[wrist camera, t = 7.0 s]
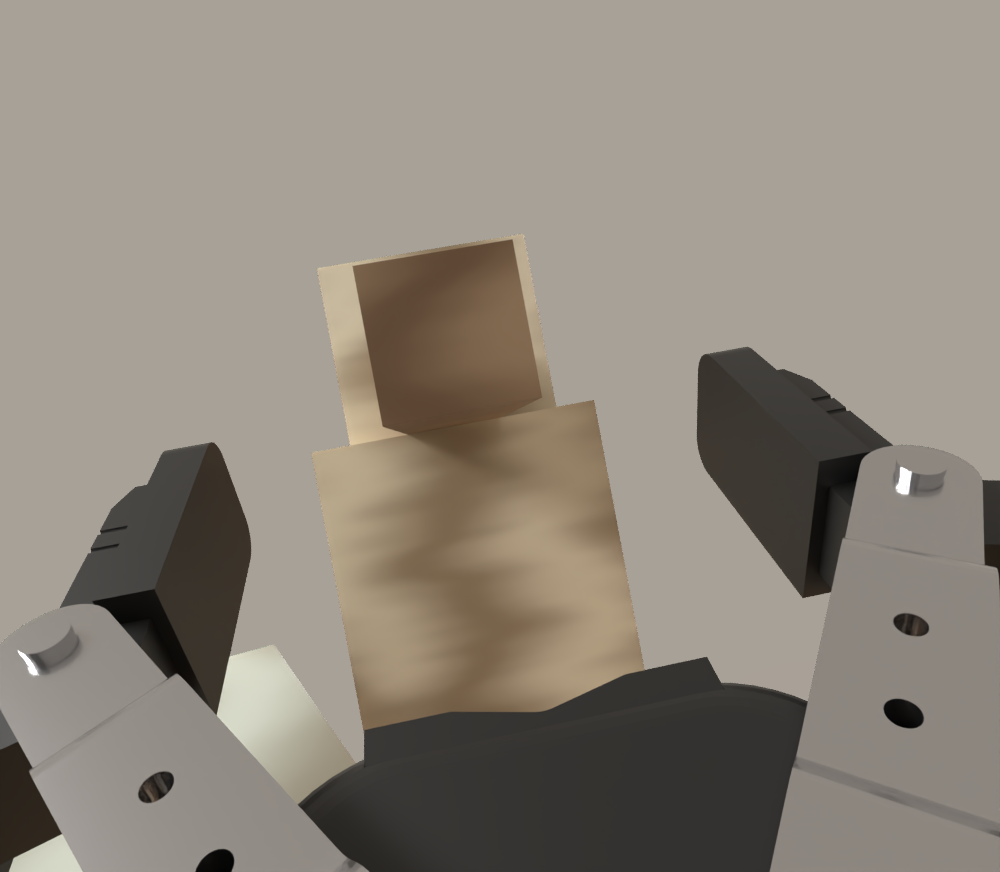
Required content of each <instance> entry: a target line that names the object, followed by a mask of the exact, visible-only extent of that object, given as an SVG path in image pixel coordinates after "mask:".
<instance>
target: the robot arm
mask: <svg viewBox="0 0 1000 872" xmlns="http://www.w3.org/2000/svg"><path fill="white" fill-rule="evenodd" d="M697 408H698V409H697V442H698V449H699V454H700V457H701V460H702V463H703V465H704V467H705V469H706V471H707V472H708V474H709V475H710V476H711V478H712V479H713V480H714V482H715V483H716V484H717V486H718V487H719V488H720V490H721V491H722V492H723V494H724V495H725V496H726V497H727V499H728V500H729V501H730V503H731V504H732V505H733V507H734V508H735V509H736V511H737V512H738V513H739V515H740V516H741V517H742V519H743V520H744V521H745V523H746V524H747V525H748V526H749V528H750V529H751V530H752V532H753V533H754V534H755V536H756V537H757V538H758V540H759V541H760V542H761V544H762V545H763V546H764V548H765V549H766V550H767V551H768V553H769V554H770V555H771V556H772V558H773V559H774V561H775V562H776V563H777V564H778V566H779V567H780V569H782V571H783V573H784V574H785V575H786V577H787V578H788V579H789V580H790V582H791V583H792V584H793V586H794V587H795V588H796V590H797V591H798V592H799V594H800V595H801V596H802V598H805V597H810V596H815V595H820V594H824V593H829V592H831V595H830V600H829V605H828V609H827V614H826V619H825V623H824V628H823V633H822V638H821V642H820V647H819V652H818V657H817V661H816V666H815V671H814V675H813V680H812V685H811V689H810V694H809V699H808V701H805V700H803V699H800V698H798V697H795V696H792V695H789V694H786V693H783V692H779V691H776V690H773V689H767V688H763V687H758V686H753V685H745V684H736V683H721V682H720V680H719V678H718V677H717V675H716V673H715V671H714V670H713V667H712V665H711V664H710V662H709V660H708V658H707V657H704V658H699V659H695V660H690V661H686V662H681V663H676V664H671V665H667V666H662V667H658V668H653V669H648V670H643V671H638V672H634V673H629V674H625V675H623V676H620V677H618V678H616V679H614V680H612V681H610V682H608V683H605V684H603V685H601V686H599V687H597V688H595V689H592V690H590V691H588V692H586V693H584V694H582V695H580V696H577V697H575V698H573V699H571V700H569V701H567V702H565V703H562V704H560V705H558V706H556V707H554V708H551V709H549V710H546V711H541V712H447V713H442V714H437V715H433V716H428V717H423V718H419V719H414V720H409V721H404V722H400V723H395V724H390V725H386V726H381V727H376V728H372V729H367V730H364V760H362V761H360V762H358V763H356V764H354V765H352V766H350V767H348V768H347V769H345V770H343V771H341V772H340V773H338V774H336V775H335V776H333V777H331V778H330V779H329V780H327V781H326V782H325V783H323V784H322V785H320V786H319V787H318V788H316V789H315V790H314V791H312V792H311V793H310V794H309V795H308V796H307V797H305V798H304V799H303V800H302V801H301V802H300V803H299V804H298V805H297V804H296V802H295V801H294V800H293V799H292V798H291V797H290V796H289V795H288V794H287V792H286V791H285V790H284V789H283V788H282V787H281V786H280V785H279V784H278V783H277V781H276V780H275V779H274V778H273V777H272V776H271V775H270V774H269V773H268V772H267V770H266V769H265V768H264V767H263V766H262V765H261V764H260V763H259V762H258V761H257V759H256V758H255V757H254V756H253V755H252V754H251V753H250V752H249V751H248V750H247V748H246V747H245V746H244V745H243V744H242V743H241V742H240V741H239V740H238V739H237V737H236V736H235V735H234V734H233V733H232V732H231V731H230V730H229V729H228V727H227V726H226V725H225V724H224V723H223V722H222V721H221V720H220V719H219V718H218V716H217V712H218V707H219V703H220V698H221V693H222V689H223V684H224V679H225V675H226V670H227V665H228V661H229V656H230V651H231V647H232V642H233V637H234V633H235V628H236V624H237V619H238V614H239V610H240V605H241V600H242V596H243V591H244V586H245V582H246V577H247V573H248V568H249V563H250V558H251V540H250V533H249V528H248V524H247V521H246V518H245V515H244V513H243V510H242V507H241V504H240V502H239V499H238V497H237V494H236V491H235V488H234V485H233V483H232V480H231V477H230V475H229V472H228V469H227V466H226V464H225V461H224V458H223V456H222V453H221V451H220V450H219V448H218V447H217V445H216V444H215V443H212V442H211V443H206V444H201V445H195V446H189V447H184V448H178V449H173V450H167V451H164V452H163V453H162V455H161V457H160V459H159V461H158V463H157V465H156V467H155V470H154V472H153V474H152V476H151V478H150V480H149V482H148V484H147V485H144V486H139V487H135V488H134V489H133V490H132V491H130V492H129V493H128V494H127V495H126V496H125V497H124V498H123V499H122V500H121V501H120V502H118V503H117V504H116V505H115V506H114V507H113V508H112V509H111V511H110V513H109V515H108V517H107V519H106V521H105V522H104V524H103V526H102V528H101V530H100V532H101V535H98V536H97V538H96V540H95V542H94V543H93V545H92V547H91V553H90V554H88V555H87V557H86V559H85V561H84V562H83V564H82V566H81V568H80V570H79V572H78V574H77V576H76V578H75V580H74V582H73V583H72V585H71V587H70V589H69V591H68V593H67V595H66V597H65V599H64V601H63V603H62V605H61V607H60V608H59V609H56V610H53V611H50V612H48V613H45V614H43V615H41V616H39V617H37V618H35V619H33V620H31V621H30V622H28V623H26V624H25V625H23V626H21V627H20V628H19V629H17V630H16V631H14V632H13V633H12V634H11V635H9V636H8V637H7V638H6V639H5V640H4V641H3V642H2V643H1V644H0V872H9V870H10V867H11V865H12V862H13V859H14V858H15V857H17V856H19V855H21V854H23V853H25V852H27V851H29V850H31V849H33V848H35V847H37V846H39V845H41V844H43V843H45V842H47V841H49V840H51V839H53V838H55V837H57V836H59V835H61V834H63V836H64V838H65V840H66V842H67V844H68V846H69V847H70V849H71V851H72V853H73V855H74V857H75V858H76V860H77V862H78V864H79V866H80V868H81V870H82V871H83V872H1000V481H988V480H982V478H981V476H980V474H979V473H978V471H977V470H976V469H975V468H974V467H973V466H972V465H970V464H969V463H968V462H966V461H964V460H963V459H961V458H959V457H957V456H955V455H953V454H950V453H948V452H945V451H941V450H938V449H934V448H929V447H923V446H914V445H896V446H893V445H892V444H891V443H889V442H888V441H887V440H886V439H884V438H883V437H882V436H881V435H879V434H878V433H877V432H876V431H874V430H873V429H872V428H870V427H869V426H868V425H867V424H866V423H865V422H863V421H862V420H861V419H859V418H858V417H857V416H856V415H854V414H853V413H852V412H851V411H846V408H845V406H843V405H842V404H841V403H840V402H838V401H837V400H836V399H835V398H832V399H831V397H830V394H828V393H827V392H826V391H825V390H823V389H822V388H821V387H820V386H818V385H817V384H816V383H814V382H813V381H812V380H810V379H808V378H805V377H802V376H800V375H797V374H795V373H792V372H789V371H787V370H784V369H782V370H776V369H775V368H774V367H773V366H771V365H770V364H769V363H768V362H767V361H765V360H764V359H763V358H762V357H761V356H759V355H758V354H757V353H756V352H754V350H752V349H751V348H749V347H743V348H738V349H732V350H727V351H722V352H716V353H710V354H705V355H703V356H702V357H701V359H700V362H699V368H698V407H697Z"/></svg>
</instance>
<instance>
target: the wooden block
mask: <svg viewBox="0 0 1000 872" xmlns="http://www.w3.org/2000/svg"><path fill="white" fill-rule="evenodd" d="M311 454H312V459H313V464H314V470H315V475H316V480H317V486H318V491H319V497H320V502H321V507H322V512H323V518H324V523H325V528H326V533H327V539H328V544H329V549H330V555H331V560H332V566H333V570H334V576H335V581H336V587H337V591H338V597H339V603H340V608H341V613H342V619H343V624H344V629H345V634H346V640H347V645H348V650H349V656H350V661H351V666H352V672H353V677H354V682H355V688H356V693H357V698H358V704H359V709H360V714H361V720H362V725H363V730H367V729H372V728H376V727H381V726H386V725H390V724H395V723H400V722H404V721H409V720H414V719H419V718H423V717H428V716H433V715H437V714H442V713H447V712H541V711H546V710H549V709H551V708H554V707H556V706H558V705H560V704H562V703H565V702H567V701H569V700H571V699H573V698H575V697H577V696H580V695H582V694H584V693H586V692H588V691H590V690H592V689H595V688H597V687H599V686H601V685H603V684H605V683H608V682H610V681H612V680H614V679H616V678H618V677H620V676H623V675H625V674H629V673H634V672H638V671H643V670H645V669H644V664H643V659H642V654H641V648H640V643H639V638H638V632H637V627H636V622H635V617H634V611H633V606H632V600H631V595H630V590H629V585H628V579H627V574H626V568H625V564H624V558H623V552H622V548H621V542H620V536H619V531H618V526H617V521H616V515H615V510H614V504H613V500H612V494H611V489H610V483H609V478H608V473H607V467H606V462H605V457H604V451H603V446H602V441H601V435H600V430H599V425H598V419H597V414H596V409H595V403H594V400H592V401H586V402H581V403H576V404H571V405H565V406H559V407H554V408H549V409H543V410H538V411H533V412H527V413H522V414H516V415H511V416H506V417H500V418H495V419H490V420H484V421H479V422H473V423H468V424H463V425H457V426H452V427H447V428H441V429H436V430H430V431H425V432H420V433H414V434H409V435H404V436H398V437H393V438H387V439H382V440H377V441H371V442H366V443H361V444H355V445H350V446H345V447H339V448H334V449H328V450H323V451H318V452H312V453H311Z"/></svg>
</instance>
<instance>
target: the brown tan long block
mask: <svg viewBox="0 0 1000 872" xmlns="http://www.w3.org/2000/svg"><path fill="white" fill-rule="evenodd" d="M317 272H318V277H319V282H320V288H321V293H322V298H323V304H324V309H325V314H326V320H327V325H328V330H329V335H330V341H331V346H332V352H333V357H334V362H335V368H336V373H337V378H338V383H339V389H340V394H341V399H342V405H343V410H344V415H345V420H346V426H347V431H348V437H349V442H350V445H355V444H361V443H366V442H371V441H377V440H382V439H387V438H393V437H398V436H404V435H409V434H414V433H420V432H425V431H430V430H436V429H441V428H447V427H452V426H457V425H463V424H468V423H473V422H479V421H484V420H490V419H495V418H500V417H506V416H511V415H516V414H522V413H527V412H533V411H538V410H543V409H549V408H554V407H556V403H555V398H554V393H553V387H552V382H551V377H550V371H549V366H548V361H547V356H546V351H545V345H544V340H543V334H542V329H541V323H540V319H539V313H538V308H537V302H536V297H535V292H534V286H533V281H532V276H531V271H530V265H529V260H528V254H527V249H526V244H525V238H524V234H519V235H514V236H508V237H501V238H496V239H489V240H483V241H478V242H471V243H465V244H459V245H453V246H447V247H442V248H435V249H430V250H424V251H418V252H411V253H406V254H400V255H394V256H387V257H382V258H376V259H369V260H364V261H358V262H352V263H346V264H339V265H333V266H328V267H321V268H317Z"/></svg>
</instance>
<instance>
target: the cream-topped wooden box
mask: <svg viewBox="0 0 1000 872" xmlns="http://www.w3.org/2000/svg"><path fill="white" fill-rule="evenodd" d="M217 716H218V718H219V719H220V720H221V721H222V722H223V723H224V724H225V725H226V726H227V727H228V729H229V730H230V731H231V732H232V733H233V734H234V735H235V736H236V737H237V739H238V740H239V741H240V742H241V743H242V744H243V745H244V746H245V747H246V748H247V750H248V751H249V752H250V753H251V754H252V755H253V756H254V757H255V758H256V759H257V761H258V762H259V763H260V764H261V765H262V766H263V767H264V768H265V769H266V770H267V772H268V773H269V774H270V775H271V776H272V777H273V778H274V779H275V780H276V781H277V783H278V784H279V785H280V786H281V787H282V788H283V789H284V790H285V791H286V792H287V794H288V795H289V796H290V797H291V798H292V799H293V800H294V801H295V802H296V804H297V805H298V804H299V803H300V802H301V801H302V800H303V799H304V798H305V797H307V796H308V795H309V794H310V793H311V792H312V791H314V790H315V789H316V788H318V787H319V786H320V785H322V784H323V783H325V782H326V781H327V780H329V779H330V778H331V777H333V776H335V775H336V774H338V773H340V772H341V771H343V770H345V769H347V768H348V767H350V766H352V765H354V764H356V763H355V761H354V760H353V758H352V757H351V756H350V754H349V753H348V751H347V750H346V748H345V747H344V746H343V744H342V743H341V741H340V740H339V738H338V737H337V735H336V734H335V732H334V731H333V730H332V728H331V727H330V725H329V724H328V722H327V721H326V719H325V718H324V716H323V715H322V713H321V712H320V711H319V709H318V708H317V707H316V705H315V703H314V702H313V700H312V699H311V698H310V696H309V695H308V693H307V692H306V690H305V689H304V687H303V686H302V685H301V683H300V682H299V680H298V679H297V677H296V676H295V674H294V673H293V671H292V670H291V669H290V667H289V666H288V664H287V663H286V661H285V660H284V658H283V657H282V655H281V654H280V653H279V651H278V650H277V648H276V647H275V645H270V646H266V647H263V648H259V649H256V650H252V651H249V652H245V653H241V654H238V655H234V656H231V657H229V661H228V665H227V670H226V675H225V679H224V684H223V689H222V693H221V698H220V703H219V707H218V712H217ZM9 872H83V871H82V870H81V868H80V866H79V864H78V862H77V860H76V858H75V857H74V855H73V853H72V851H71V849H70V847H69V846H68V844H67V842H66V840H65V838H64V836H63V834H61V835H59V836H57V837H55V838H53V839H51V840H49V841H47V842H45V843H43V844H41V845H39V846H37V847H35V848H33V849H31V850H29V851H27V852H25V853H23V854H21V855H19V856H17V857H15V858H14V859H13V862H12V865H11V867H10V870H9Z"/></svg>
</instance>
